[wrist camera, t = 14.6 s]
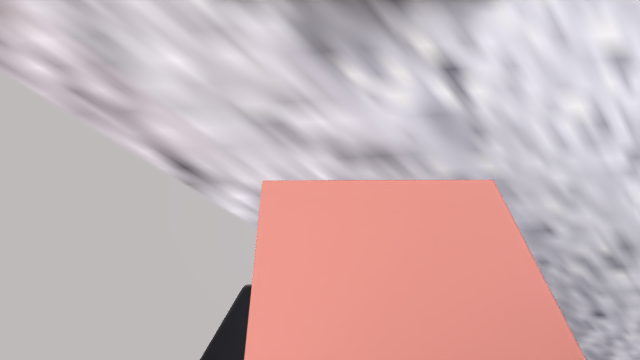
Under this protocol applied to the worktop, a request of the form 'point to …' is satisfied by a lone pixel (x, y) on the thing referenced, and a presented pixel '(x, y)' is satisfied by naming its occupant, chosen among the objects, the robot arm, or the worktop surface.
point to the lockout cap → (397, 275)
